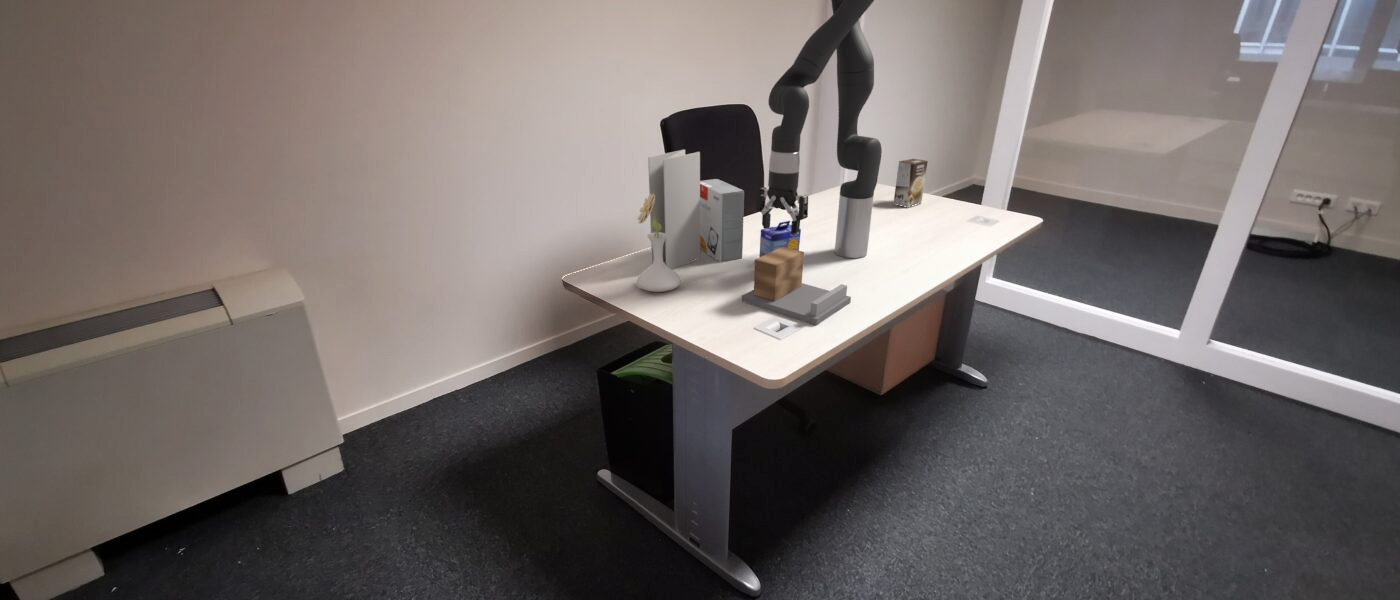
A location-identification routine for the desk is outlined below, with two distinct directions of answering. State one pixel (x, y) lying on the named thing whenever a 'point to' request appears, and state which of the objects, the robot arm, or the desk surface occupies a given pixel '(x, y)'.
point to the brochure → (676, 204)
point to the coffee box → (910, 182)
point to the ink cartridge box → (778, 238)
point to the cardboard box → (778, 273)
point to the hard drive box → (721, 220)
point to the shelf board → (804, 303)
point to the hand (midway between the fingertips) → (780, 231)
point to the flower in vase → (656, 257)
